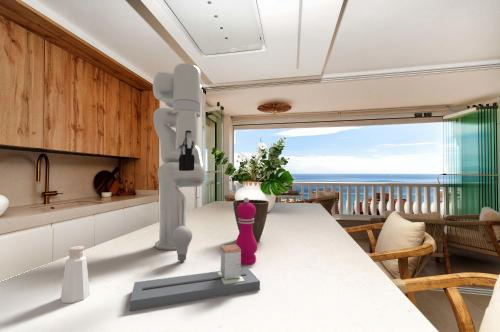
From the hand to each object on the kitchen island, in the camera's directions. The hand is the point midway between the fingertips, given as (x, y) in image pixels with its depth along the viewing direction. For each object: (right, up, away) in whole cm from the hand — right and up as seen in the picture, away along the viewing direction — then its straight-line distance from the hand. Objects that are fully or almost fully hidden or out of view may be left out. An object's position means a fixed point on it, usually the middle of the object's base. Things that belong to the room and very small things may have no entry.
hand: (186, 170), depth 69 cm
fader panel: (+6, -28, -11) cm, 31 cm away
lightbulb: (-3, -29, +8) cm, 30 cm away
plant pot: (+18, -30, +33) cm, 48 cm away
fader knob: (+13, -26, -8) cm, 30 cm away
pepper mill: (+17, -29, +8) cm, 34 cm away
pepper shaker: (-21, -28, -15) cm, 38 cm away
